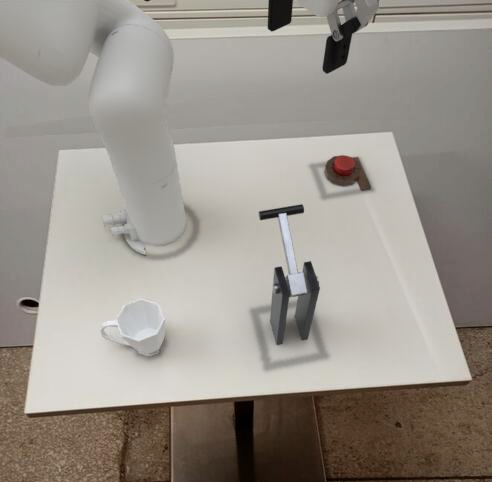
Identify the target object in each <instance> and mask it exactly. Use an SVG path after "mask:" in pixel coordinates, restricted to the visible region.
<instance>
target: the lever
mask: <svg viewBox="0 0 492 482" xmlns="http://www.w3.org/2000/svg"><path fill="white" fill-rule="evenodd" d="M304 213H305V207H304V205H303V203H300V204H295V205H288V206H282V207H277V208H269V209H264V210H259V211H258V218H259V220H260V221H265V220H273V219H277V221H278V227H279V231H280V236H281V243H282V246H283V247H282V248H283V252H284V257H285V262H286V267H287V271H288V274H287V275H286V276H285V279H286V282H287V286H288V289H289V292H290V296H289V299H291V298H296V297H298V296H302V295H305V294H306V293H308V292H307V287H306V282H305V277H304V272H302V271H301V272H299V269H298V265H297V260H296V255H295V250H294V245H293V239H292V234H291V230H290V224H289V219H288V217H289V216H294V215H301V214H304Z"/></svg>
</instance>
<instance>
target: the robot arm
mask: <svg viewBox="0 0 492 482" xmlns="http://www.w3.org/2000/svg"><path fill="white" fill-rule="evenodd" d="M294 2H295V3H297V4H298V5H300V6H301V7H303V8H304V9H305V10H307V11H308V12H310V13H311V14H313V15H314V16H316V17H319V18H325V17H326V20H327V23H328V27H329V30H330V35H329V36H327V37H326V41H325V48H324V54H323V60H322V61H323V62H322V69H321V70H322V72H323V73H325V74H326V75H328V74H330V73H332V72H334V71H336V70H338V69H339V68H340V69H341V67H343V66H346V64H347V62H348V58H349V54H350V50H351V49H350V48H351V43H352V38H353V34H355V33H357V32H359V31H360V30H362V29H364V28H365V27H367V26H368V25H369V22H370V21H371V20H372V18H373V17H374V16H375V14H376V13H377V12H378V11H379V8H380V6H379V1H378V0H268V6H267V7H268V9H267V30H269V31H270V32H275V31H277V30H280V29H281V28H284V27H286V26H288V25H290V24H291V23H292V21H293V20H292V19H293V17H292V16H293V5H294V4H293V3H294ZM355 6H356V9H355ZM340 10H342V13H343V16H344V20H345V22H343V23H342V22H341V20H340V16H339V12H338V11H340ZM90 53H91V54H92V55H94V56H96V57H97V58H98V59H97V61H96V64H95V68H94V71H93V74H92V78H91V80H90V81H91V82H90V86H89V91H88V99H87V100H88V102H87V103H88V112H89V117H90V119H91V122H92V124H93V126H94V128H95V130H96V132H97V133H98V135H99V137H100V138H101V141H102V142H103V144H104V145H103V146H104V147H105V149H106V152H107V155H108V158H109V161H110V164H111V168H112V170H113V173H114V175H115V179H116V182H117V185H118V188H119V192H120V195H121V198H122V202H123V204H124V210H120V211H119V213H115V214H113V213H111V214H104V215H102V216H101V219H102V224H103V227H104V228H105V227H110V233H111V235H112V236H118V235H121V234H123V235H124V238H125V240H126V242H127V244H128V245H129V246H130V248H131V249H133V250H134V251H135V252H137V253H139V254H141V255H143V256H147V251H146V245H147V246H151V247H163V246H167V245H170V244H172V243H175V242H176V241H177V240H179V239H180V238H181V237H182V235H183V234H184V232H185V231H186V228H187V216H186V210H185V205H184V198H183V193H182V192H183V191H182V185H181V180H180V173H179V168H178V161H177V155H176V150H175V145H174V141H173V136H172V133H171V131H170V128H169V127H168V121H167V103H168V97H169V93H170V83H171V79H172V73H173V68H174V60H175V56H174V55H175V54H174V48H173V45H172V41H171V40H170V36H169V35H168V33H166V31H165V30H164V28H163V27H162V26H161V25H160V24H159V23H158V22H157V21H156V20H155V19H154V18H152V16H150V15H149V14H147V13H146V12H145V11H143V10H142V9H141V8H139V7H138V6H137V5H136V4H135V3H134V2H132V1H130V0H0V58H1V59H3V60H4V61H6V62H8V63H9V64H11V65H13V66H14V67H16V68H18V69H19V70H21V71H22V72H24V73H26V74H28V75H29V76H31V77H33V78H35V79H36V80H38V81H40V82H42V83H45V84H47V85H49V86H52V87H66V86H69V85H70V84H72V83H74V82H75V81H76V80H77V78H79V76H80V75H81V73H82V72H83V70H84V68H85V65H86V62H87V60H88V58H89V55H90ZM121 224H122V225H121ZM115 225H119V226H115Z"/></svg>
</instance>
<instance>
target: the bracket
mask: <svg viewBox="0 0 492 482" xmlns="http://www.w3.org/2000/svg"><path fill="white" fill-rule="evenodd" d="M273 269H274V270H273V281H272V293H271V305H270V316H269V317H270V318H269V322H270V327H271V330H272V334H273V338H274V341H275V345H276V346H278V345H283V343H284V336H285V330H286V325H287V324H286V323H287V318H288V317H287V316H288V308H289V304H290V303H289V302H290V298H289V296H290V292H289V289H288V286H287V282H286V279H285V277H286V276H285V273H284V270H283V266H280V265H279V266H276V267H274V268H273ZM301 272H304V277H305V282H306V287H307V292H308V293H306V294H305V295H302V296H297V300H296V306H295V312H294V319H295V323H296V326H297V330H298V333H299V335H300V340H301V341H305V340H308V339H309V336H310V332H311V327H312V323H313V319H314V315H315V311H316V306H317V303H318V298H319V295H320V289H321V286H320V280H319V277H318V275H316V271H315V269H314V266H313V262H312V261H311V260H309V261H304V262H303V266H302V270H301Z"/></svg>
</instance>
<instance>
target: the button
mask: <svg viewBox="0 0 492 482" xmlns="http://www.w3.org/2000/svg"><path fill="white" fill-rule="evenodd" d="M342 155H343V156H340V155H338V156H339V157H337V158H336V160H335V163H334V168H332V169H333V172H334V173H335V174H337V175H339V176H343V177H345V176H350V175H351V174H353V168H354V164H355V162H354V160H353V159H352V158H353V157H352V156H350V155H344V154H342ZM351 157H352V158H351Z"/></svg>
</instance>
